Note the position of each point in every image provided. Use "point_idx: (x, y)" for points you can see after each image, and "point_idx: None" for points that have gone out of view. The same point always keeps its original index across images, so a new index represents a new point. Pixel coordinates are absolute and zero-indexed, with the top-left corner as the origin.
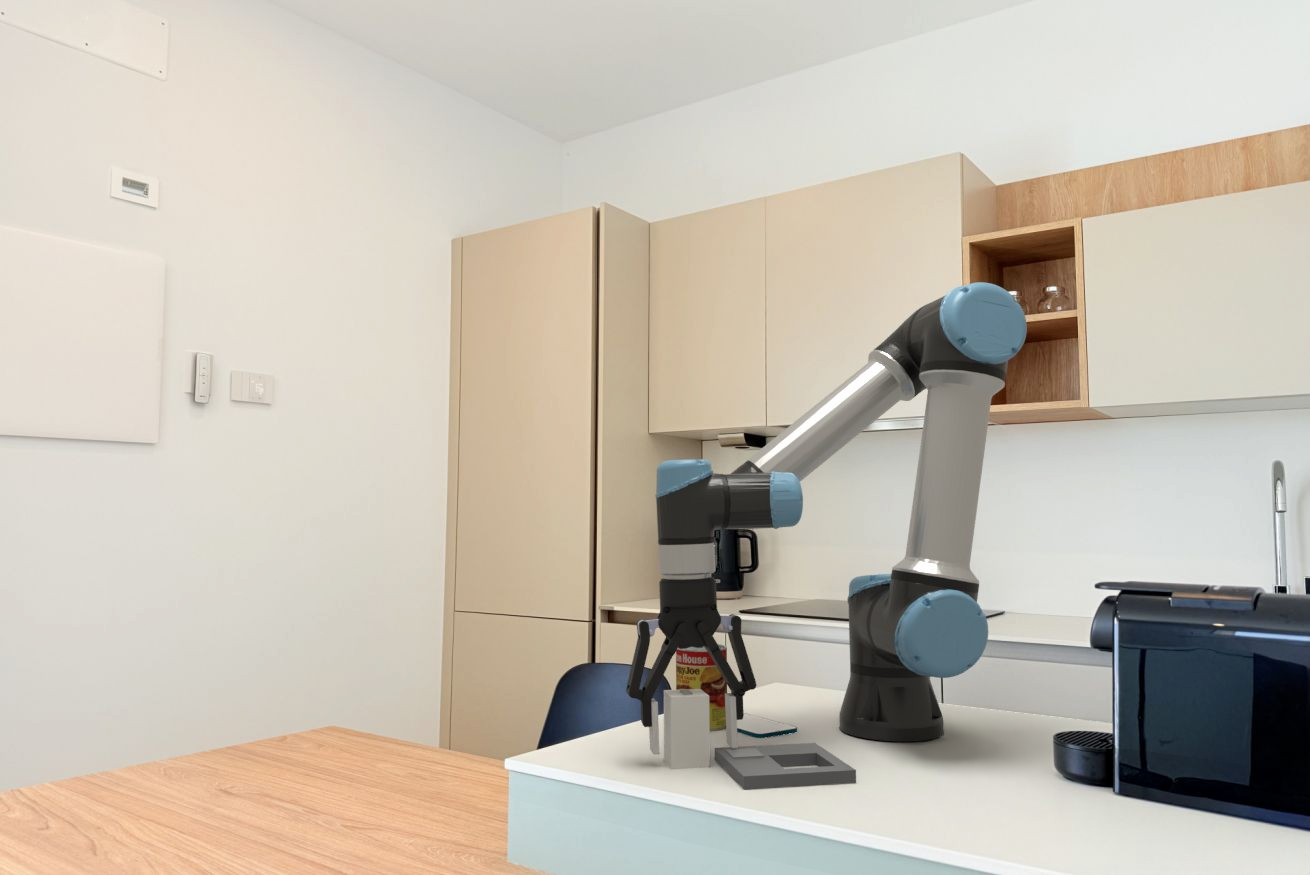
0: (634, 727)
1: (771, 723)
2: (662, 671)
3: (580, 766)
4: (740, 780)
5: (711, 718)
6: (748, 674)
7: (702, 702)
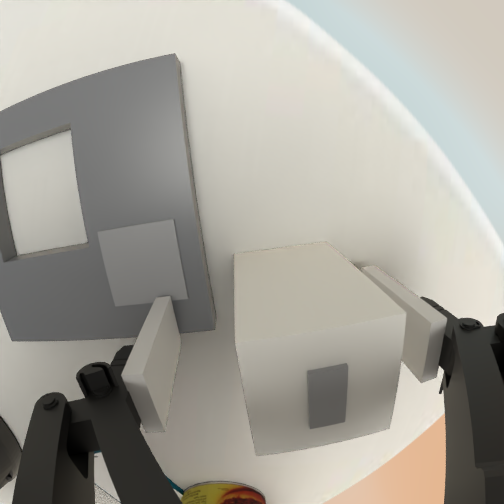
0: (332, 491)
1: (110, 487)
2: (477, 398)
3: (476, 273)
4: (180, 83)
5: (207, 498)
6: (44, 433)
7: (265, 324)
